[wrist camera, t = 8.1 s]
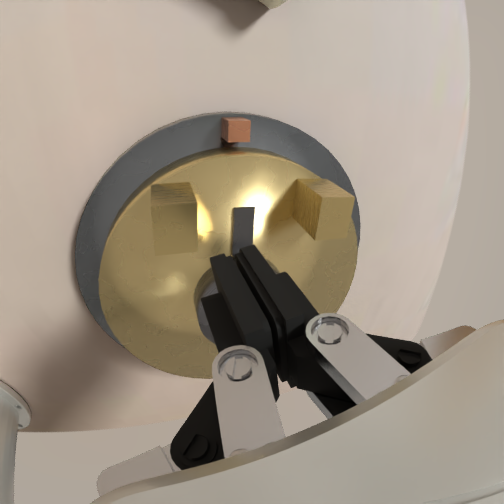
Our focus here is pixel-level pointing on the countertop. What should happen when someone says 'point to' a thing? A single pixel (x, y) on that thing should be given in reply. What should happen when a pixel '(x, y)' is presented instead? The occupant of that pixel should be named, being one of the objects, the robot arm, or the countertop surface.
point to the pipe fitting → (272, 3)
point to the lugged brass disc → (218, 247)
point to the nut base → (176, 147)
